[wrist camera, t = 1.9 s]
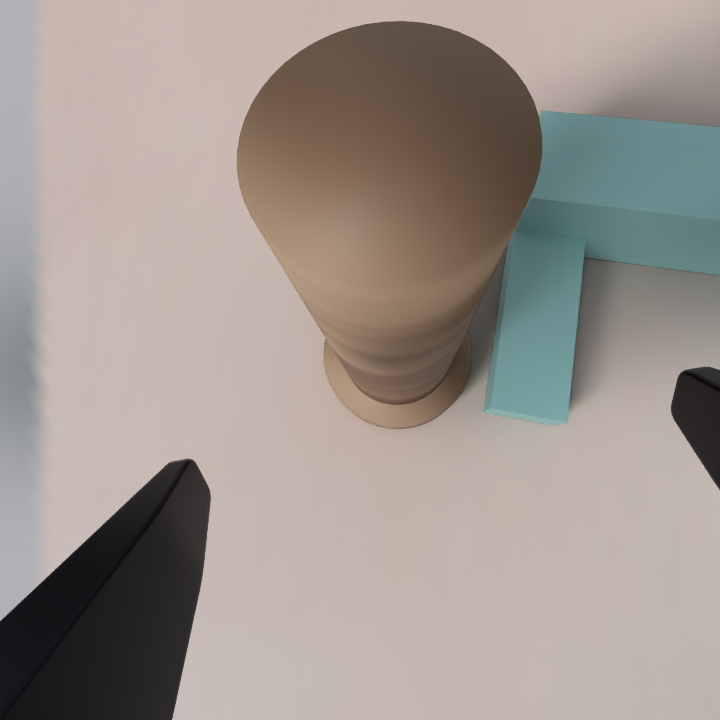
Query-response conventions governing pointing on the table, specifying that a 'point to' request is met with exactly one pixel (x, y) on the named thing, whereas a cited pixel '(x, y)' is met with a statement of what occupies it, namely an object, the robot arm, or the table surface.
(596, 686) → the table surface
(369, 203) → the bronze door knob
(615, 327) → the table surface
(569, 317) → the notched board
